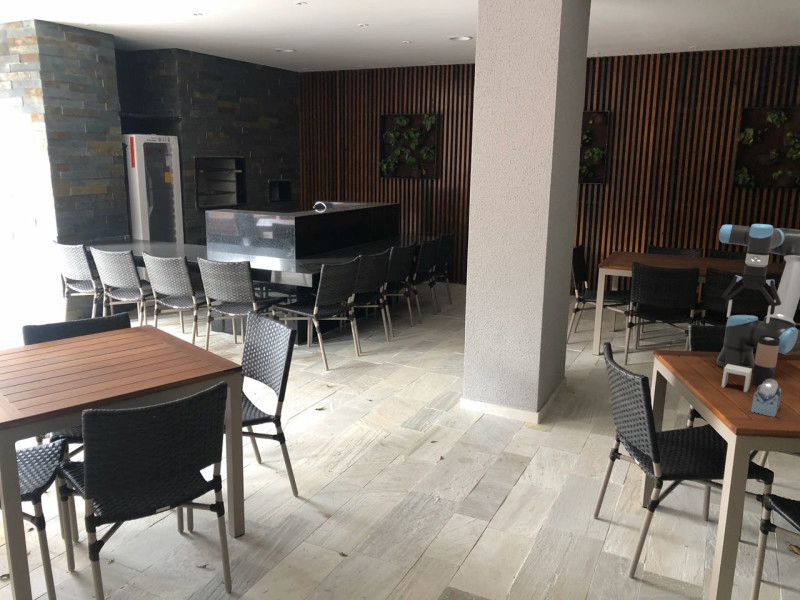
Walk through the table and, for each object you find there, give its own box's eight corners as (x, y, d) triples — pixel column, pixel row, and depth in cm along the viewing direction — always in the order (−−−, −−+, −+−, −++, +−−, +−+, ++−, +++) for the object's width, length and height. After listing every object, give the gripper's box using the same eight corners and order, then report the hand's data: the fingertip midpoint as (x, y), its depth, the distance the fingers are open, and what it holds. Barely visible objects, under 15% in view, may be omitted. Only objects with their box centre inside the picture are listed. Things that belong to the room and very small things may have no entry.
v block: (756, 402, 242) (759, 383, 240) (778, 407, 238) (781, 388, 236) (751, 411, 232) (754, 392, 231) (774, 417, 228) (777, 397, 226)
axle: (759, 387, 239) (767, 376, 237) (773, 394, 237) (780, 383, 235) (755, 394, 231) (763, 382, 229) (770, 401, 229) (777, 390, 227)
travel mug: (765, 382, 266) (773, 335, 262) (776, 388, 259) (784, 340, 255) (747, 381, 266) (754, 334, 262) (757, 387, 258) (765, 339, 254)
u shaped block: (724, 382, 264) (727, 363, 262) (749, 387, 258) (752, 368, 257) (721, 387, 258) (724, 367, 256) (746, 392, 253) (749, 372, 251)
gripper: (718, 262, 249) (710, 315, 253) (793, 270, 235) (783, 326, 239) (722, 260, 255) (714, 312, 259) (795, 268, 240) (785, 323, 245)
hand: (747, 319), depth 249 cm, fingers open, 13 cm apart
